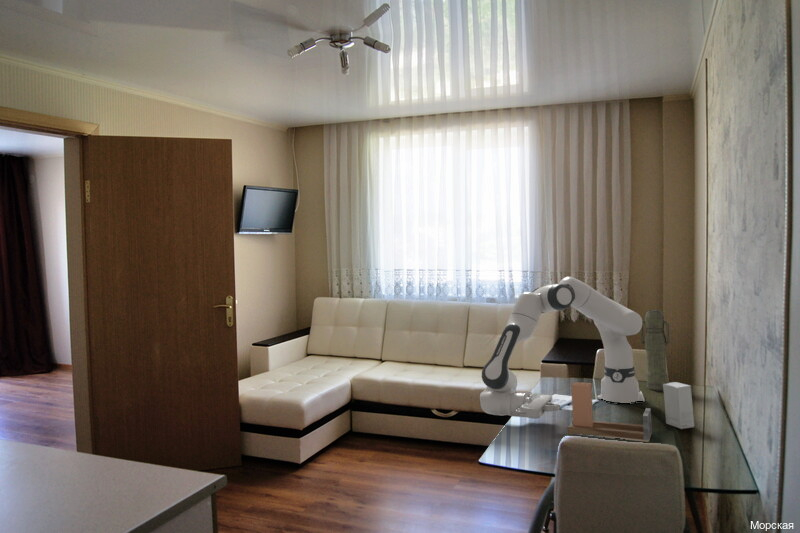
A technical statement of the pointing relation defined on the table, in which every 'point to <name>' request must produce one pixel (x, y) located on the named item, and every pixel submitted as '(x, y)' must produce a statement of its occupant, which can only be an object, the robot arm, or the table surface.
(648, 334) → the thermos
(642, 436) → the chute
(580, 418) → the post
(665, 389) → the skincare box
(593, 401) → the folded bicycle print cloth
